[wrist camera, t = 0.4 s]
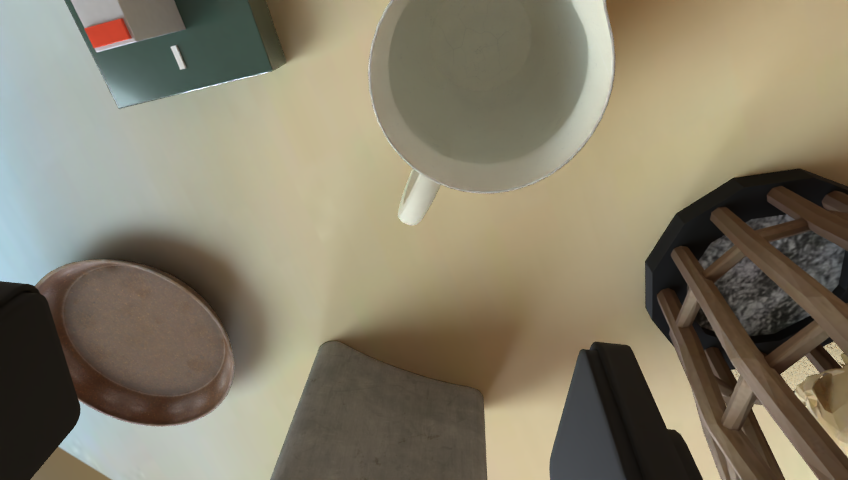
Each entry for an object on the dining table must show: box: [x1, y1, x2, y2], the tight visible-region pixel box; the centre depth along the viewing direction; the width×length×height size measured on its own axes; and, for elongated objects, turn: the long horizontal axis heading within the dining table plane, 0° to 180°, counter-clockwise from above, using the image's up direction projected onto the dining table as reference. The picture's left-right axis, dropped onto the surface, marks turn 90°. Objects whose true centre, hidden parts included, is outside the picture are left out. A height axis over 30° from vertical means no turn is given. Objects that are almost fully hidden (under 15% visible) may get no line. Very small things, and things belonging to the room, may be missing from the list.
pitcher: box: [368, 0, 615, 225], centre depth 28 cm, size 11×18×14 cm, turn 155°
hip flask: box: [270, 341, 487, 480], centre depth 39 cm, size 16×4×20 cm, turn 69°
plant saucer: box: [35, 259, 234, 426], centre depth 46 cm, size 18×18×3 cm
